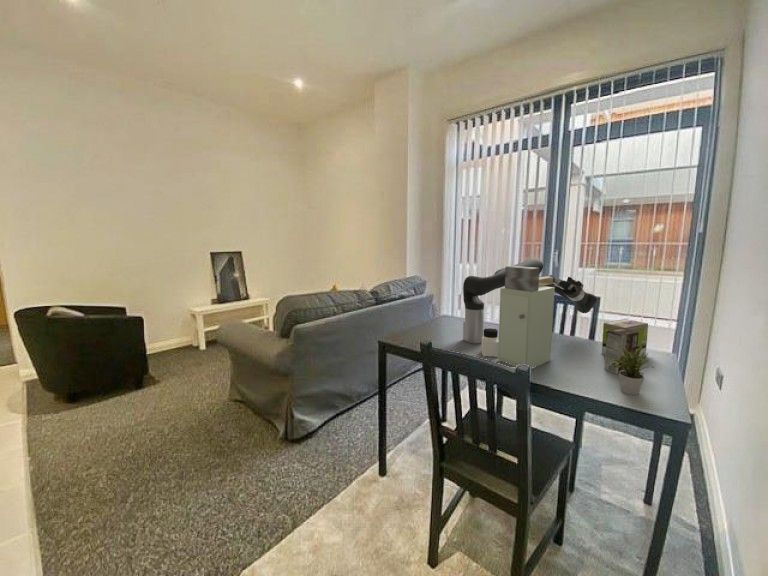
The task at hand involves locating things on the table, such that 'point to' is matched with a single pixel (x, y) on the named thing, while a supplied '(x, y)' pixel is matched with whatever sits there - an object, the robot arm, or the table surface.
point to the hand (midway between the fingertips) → (558, 277)
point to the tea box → (630, 325)
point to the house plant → (631, 371)
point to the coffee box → (625, 340)
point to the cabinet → (526, 326)
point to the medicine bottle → (490, 342)
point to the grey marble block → (525, 278)
